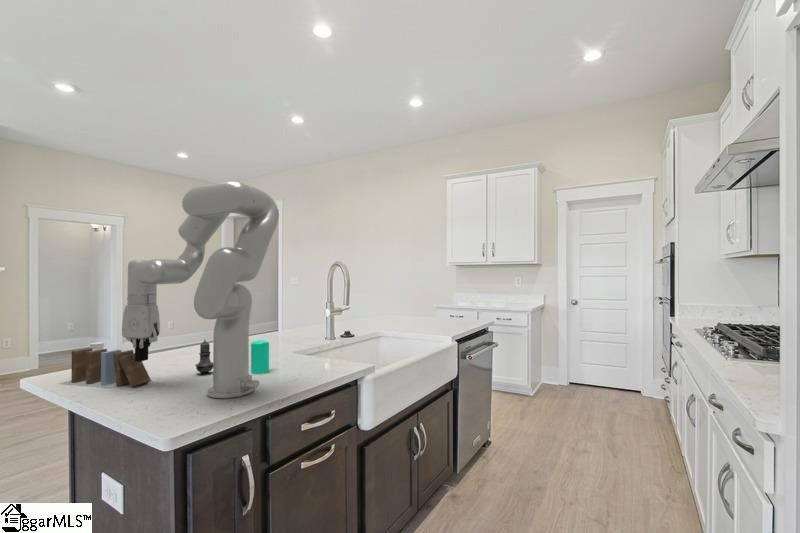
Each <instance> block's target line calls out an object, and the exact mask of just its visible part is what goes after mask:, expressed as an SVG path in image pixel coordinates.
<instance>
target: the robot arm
mask: <svg viewBox="0 0 800 533" xmlns="http://www.w3.org/2000/svg"><path fill="white" fill-rule="evenodd" d="M181 202H182V204H181V206H182V210H183V211H184V212H185V213H186V214H187V215H188V216H187V217H186V218H185V219H184V221H183V222H182V223H181V224H180V225H179V227H178V229H177V231H178V234H179V236H180V237H181V238H182V240H184V241H185V242H186V247H185V248H184V250H183V252H182V253H181V254H180V256H179V257H177V259H165V258H164V259H163V258H162V259H161V258H160V259H159V258H157V259H156V258H155V259H154V258H153V259H149V260H147V259H136V260H130V261H128V264H127V295H126V297H127V298H126V300H127V302H126V303H127V304H125V306H124V310H123V315H122V324H121V336H122V337H123V338H124V339H125V340H126V341H127V342H131V343H132V347H133V348H134V353H135V361H138V362H141V361H142V362H144V361H148V360H149V348H150V346H151V344H152V343H155V342H158V337H159V335H160V332H161V330H160V329H161V321H160V320H161V319H160V313H159V312H160V311H159V306H158V303H157V297H158V296H157V292H158V291H157V290H158V289H157V288H158V287H157V286H158V285H171V284H172V285H173V284H175V285H176V284H182V283H185V282H188V280H190V279H191V277H192V276H193V275H194V274H195V273H196V272H197V271H198V269H199V268H200V267H201V265H202V264H203V261H204V258H205V254H206V244H207V243H208V242H209V240H210V239H211V238H212V237H213V235H214V234H215V233H216V232H217V231H218V230H219V228H220V227H221V226H222V224H223V223H224V222H225V221H226V219H227V218H228V217H229V216H230V214H236V215H240V216H244V217H248V218H249V219H248V221H247V222H246V223H245V225H244V226H243V227H242V229H241V230H240V232H239V234H238V238H237V241H236V242H235V245H234V247H232V246H231V247H227V246H226V247H221V248H218V249H217V250H215V251H214V252H212V254H211V255H210V256H209V258H208V259H207V260H206V264H205V266H204V269H203V272H202V274H201V277H200V279H199V282H198V284H197V287H196V290H195V293H194V295H193V296H194V297H193V308H194V311H195V313H196V314H197V315H198V316H199V317H201V318H202V319H205V320H215V323H214V328H213V334H212V335H213V336H212V337H213V339H212V341H213V346H212V348H213V349H212V350H213V352H212V354H213V355H212V358H213V360H212V361H213V362H212V363H213V369H212V376H213V377H212V386H211V387H210V388H208V389H207V392H206V393H207V395H206V396H208V397H210V398H213V399H231V398H233V399H234V398H237V397H243V396H246V395H248V394H251V393H253V392H254V391H255V390H257V389H258V387H259V385H260V380H255V379H253V374H249V371H250V370H249V368H250V367H249V364H250V362H249V357H250V356H249V354H250V353H249V352H250V351H249V349H250V348H249V346H250V345H249V344H250V340H249V339H250V338H249V337H250V320H251V319H250V317H251V312H252V306H253V298H252V296H253V295H252V293H251V291H250V290H249V289H248V287H246V286H244V285H243V284H242V283H244V282H250V281H251V280H254V279H255V278H256V277H257V276H258V274H259V272H260V269H261V266H262V264H263V262H264V259H265V258H266V257H265V256H266V253H267V252H268V249H269V245H270V242H271V240H272V238H273V236H274V233H275V232H276V229H277V227H278V224H279V214H280V213H279V209H278V208H279V207H278V205H277V204H276V201H275V200H274V199H273V197H271V196H270V195H269V194H268V193H266V192H265V191H263V190H261V189H259V188H256V187H254V186H250V185H248V184H245V183H242V182H238V181H234V180H233V181H224V182H223V181H222V182H217V183H211V184H205V185H200V186H199V185H198V186H196V187H192V188H191V189H189V190H188V191H187V192H186V193H185V194H184V195H183V198H182V201H181ZM240 283H241V284H240Z"/></svg>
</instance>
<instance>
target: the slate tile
mask: <svg viewBox="0 0 800 533" xmlns="http://www.w3.org/2000/svg"><path fill="white" fill-rule="evenodd" d="M119 352H122V349H112V350H107V352H102V353H101V385H103V386H106V385H110V384H113V383H116V377H115V367H114V357H113V354H114V353H119Z"/></svg>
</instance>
